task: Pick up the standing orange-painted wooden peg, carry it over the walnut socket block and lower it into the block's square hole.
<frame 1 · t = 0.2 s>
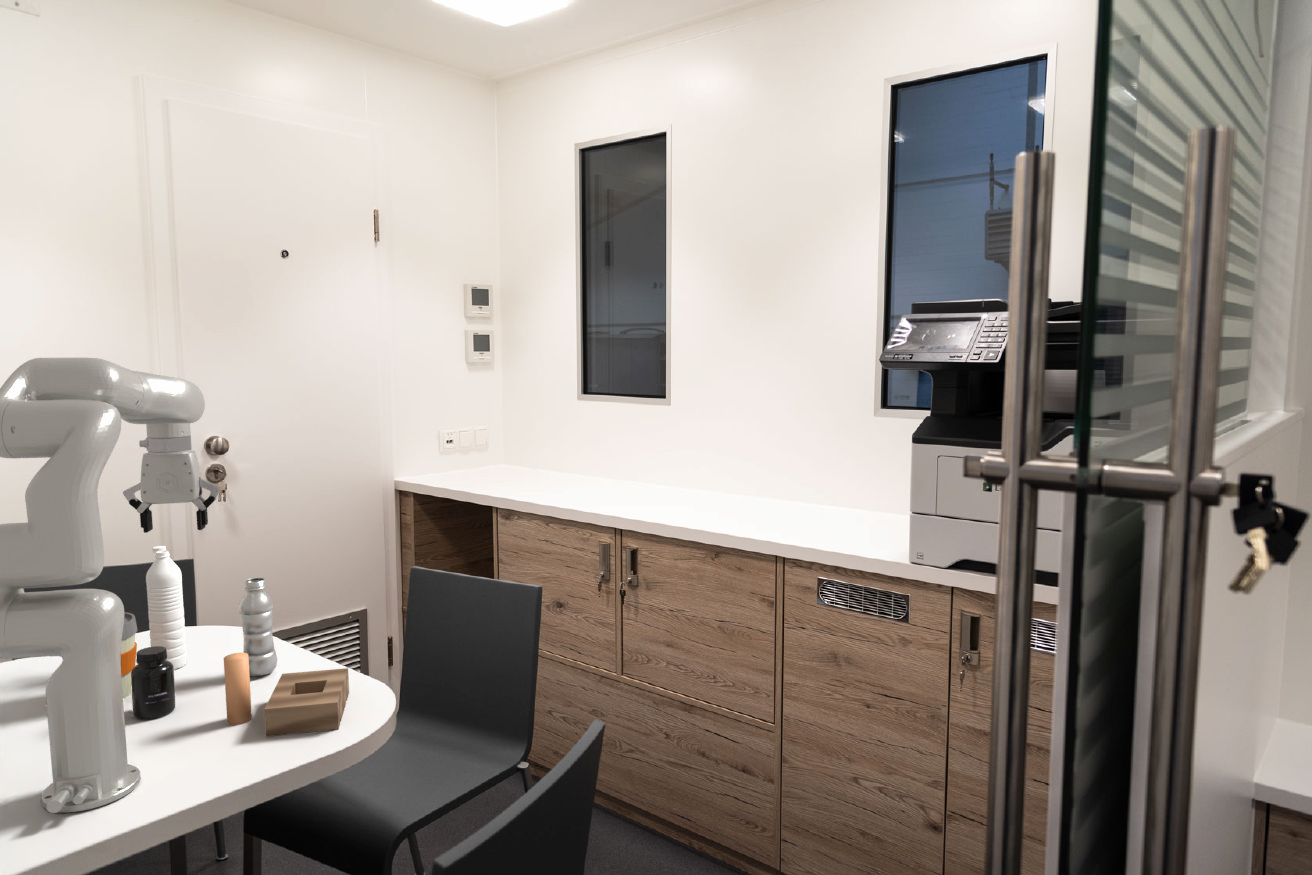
hand: (175, 529, 167), 31 cm above the table, tool pointing down, fingers open, 9 cm apart
supplement bottle: (155, 713, 155), on the table
plastic bottle: (260, 674, 173), on the table
water bottle: (169, 665, 178), on the table
socket block: (309, 713, 155), on the table
peg: (239, 719, 152), on the table
reusable coffee cup: (103, 697, 162), on the table
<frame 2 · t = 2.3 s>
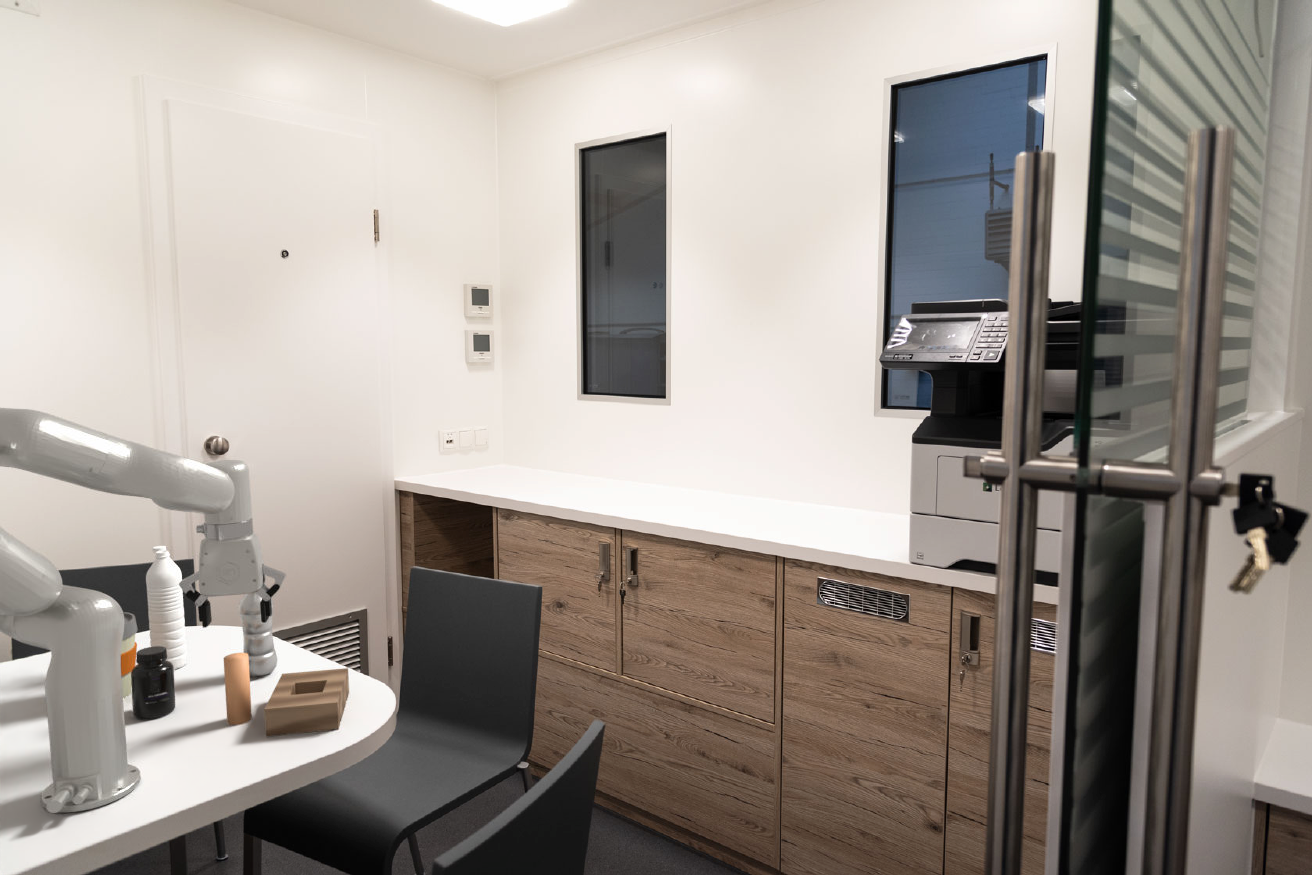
hand: (236, 622, 150), 18 cm above the table, tool pointing down, fingers open, 9 cm apart
nothing on the table moved.
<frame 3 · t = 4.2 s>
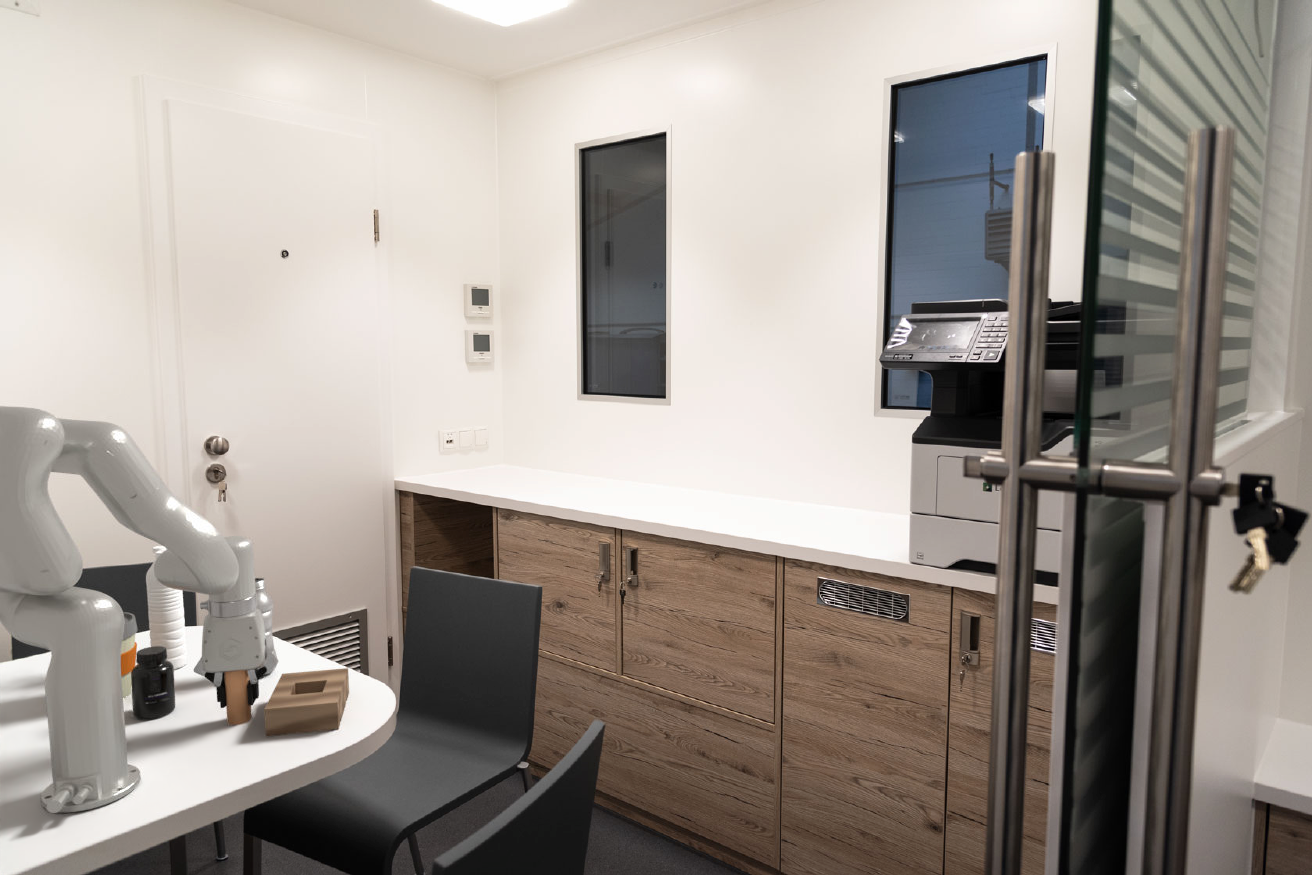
hand: (238, 702, 151), 3 cm above the table, tool pointing down, fingers closed on peg, 4 cm apart
peg: (239, 719, 152), on the table, touching gripper
everything else where it was.
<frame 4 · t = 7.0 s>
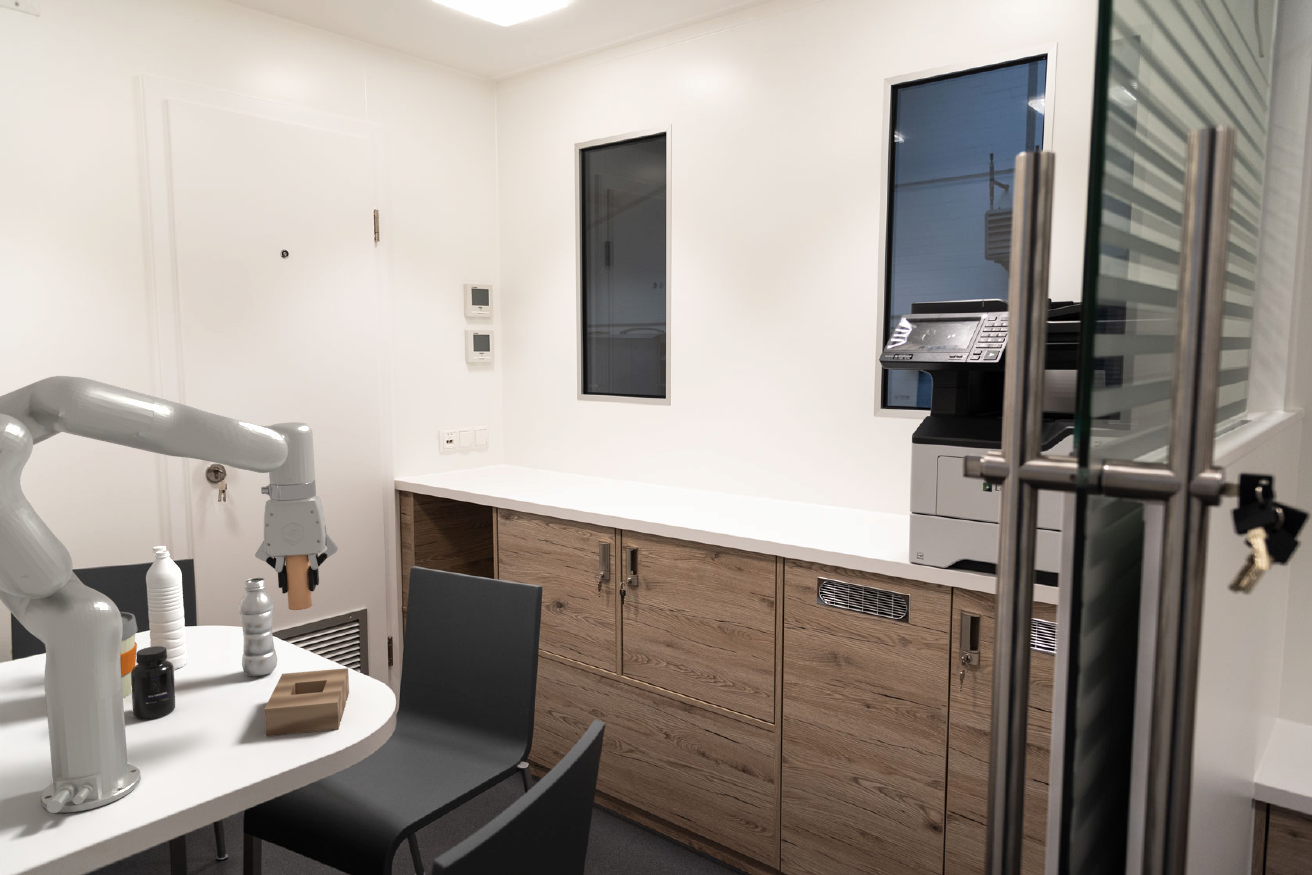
hand: (299, 589, 152), 24 cm above the table, tool pointing down, fingers closed on peg, 4 cm apart
peg: (300, 606, 152), point 20 cm above the table, touching gripper
everything else where it was.
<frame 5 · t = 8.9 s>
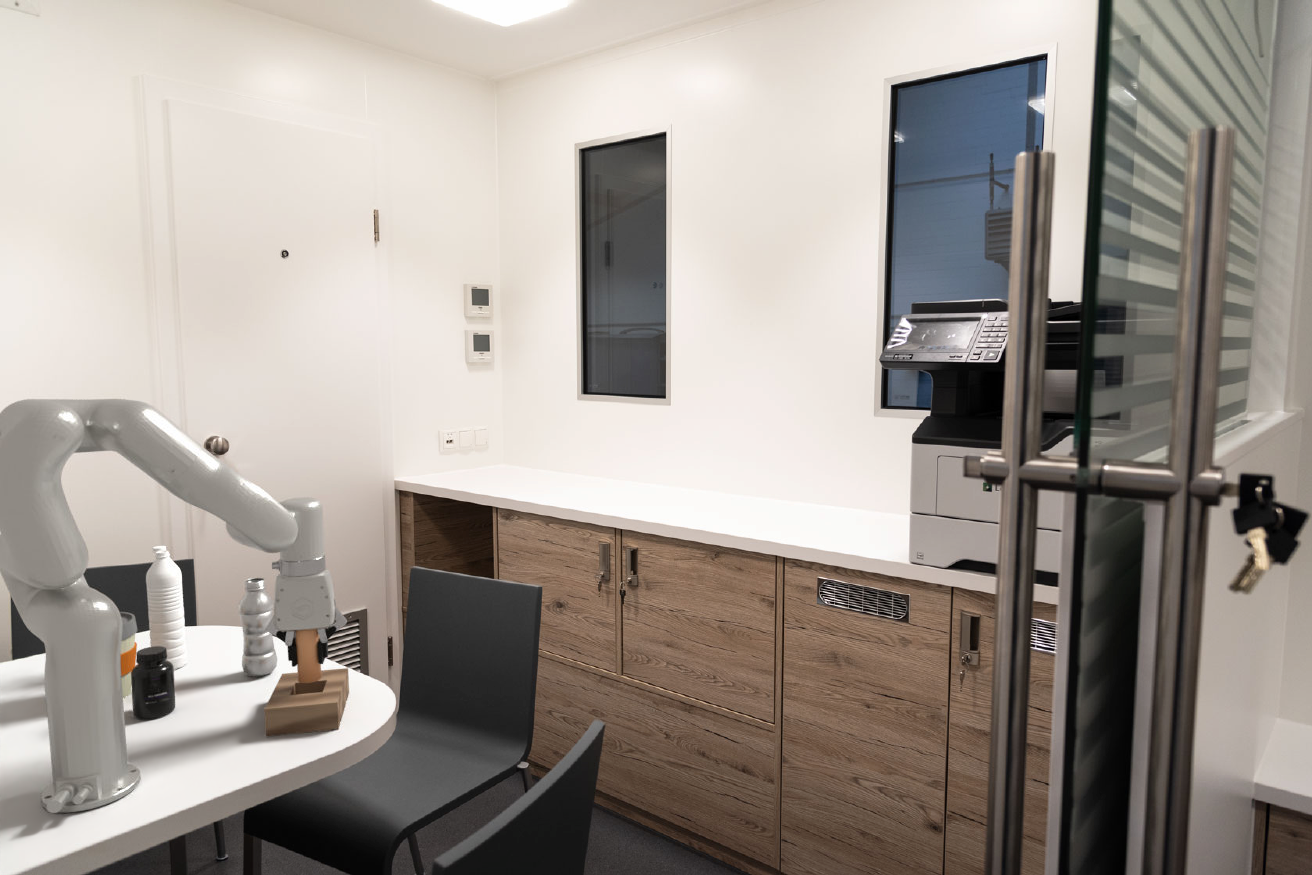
hand: (308, 661, 154), 10 cm above the table, tool pointing down, fingers closed on peg, 4 cm apart
peg: (309, 678, 154), point 7 cm above the table, touching gripper
everything else where it was.
when the fingers open (6 cm above the table, at t = 10.0 s): peg drops 3 cm, resting in socket block.
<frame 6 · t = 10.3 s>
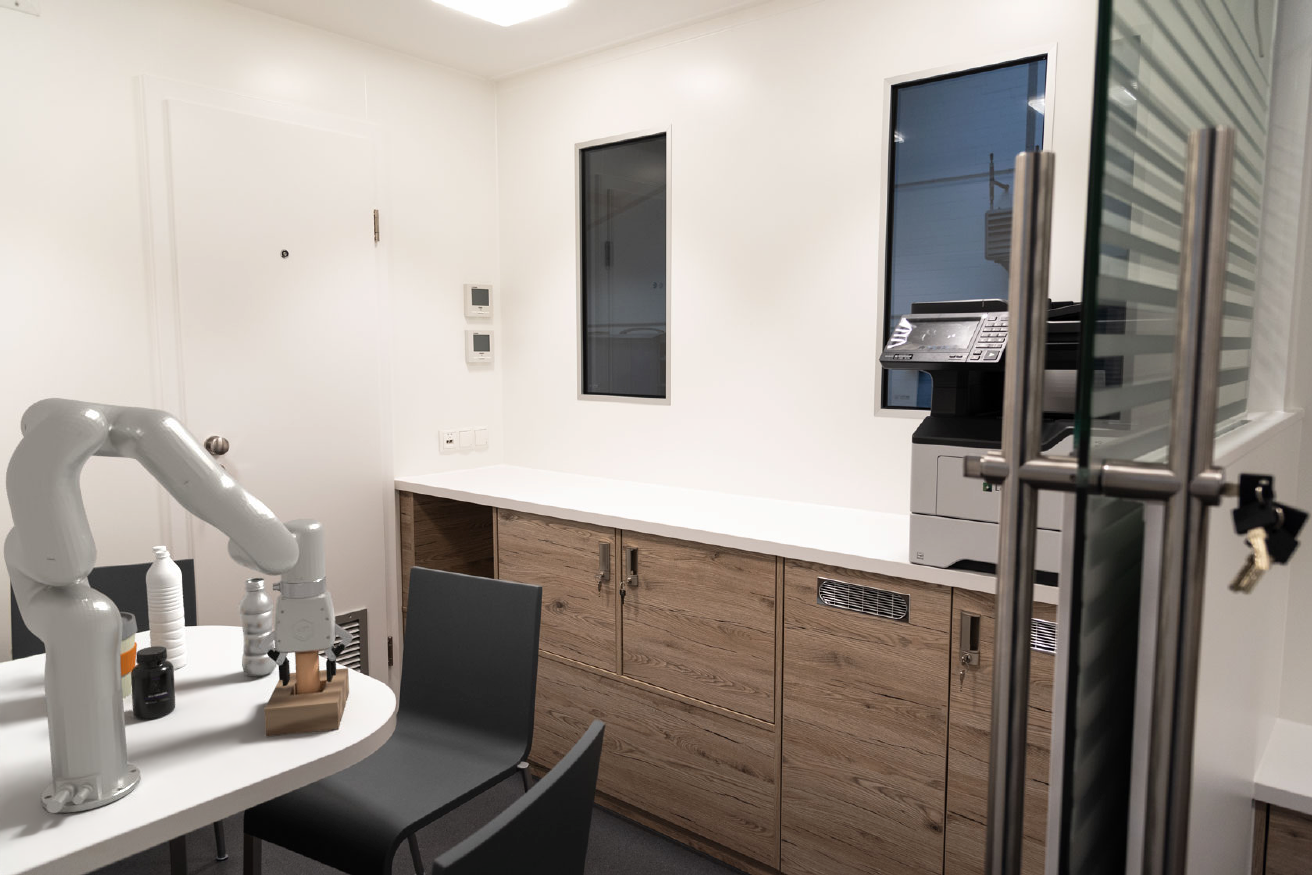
hand: (308, 680, 154), 6 cm above the table, tool pointing down, fingers open, 7 cm apart
peg: (309, 713, 155), resting in socket block
everything else where it was.
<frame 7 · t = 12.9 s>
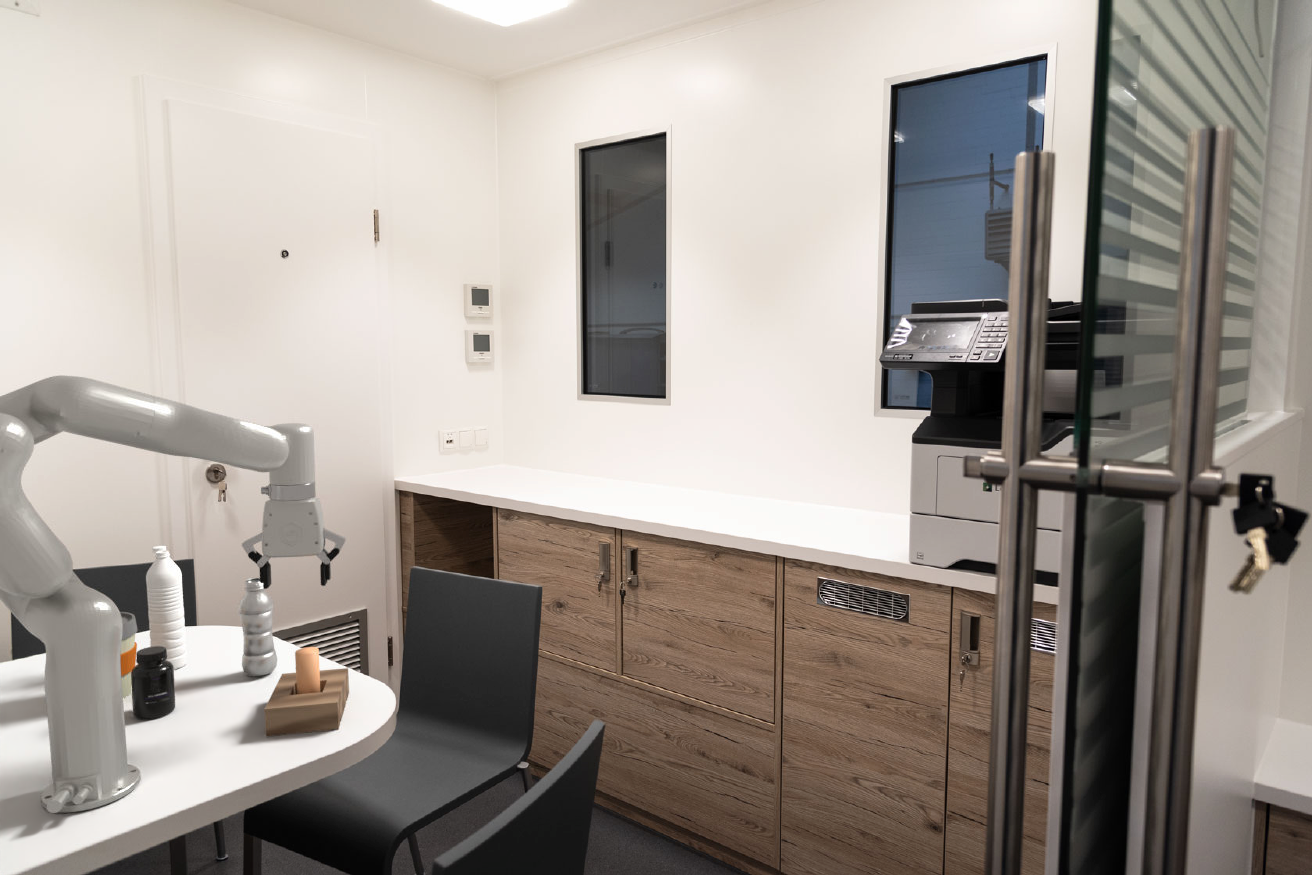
hand: (296, 585, 151), 25 cm above the table, tool pointing down, fingers open, 9 cm apart
nothing on the table moved.
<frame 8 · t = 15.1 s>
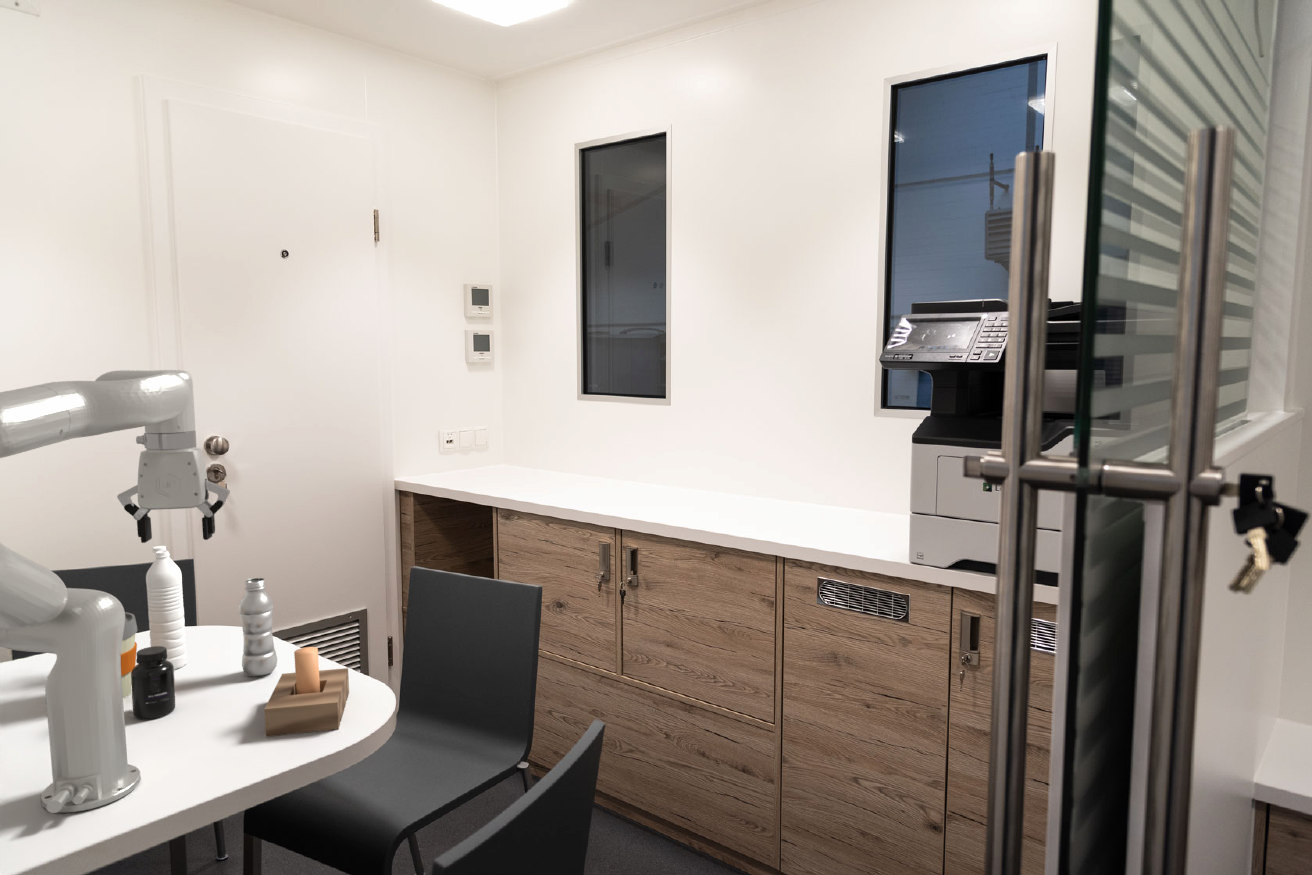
hand: (177, 539, 145), 34 cm above the table, tool pointing down, fingers open, 9 cm apart
nothing on the table moved.
at the end: peg 0.1 cm off-centre on the socket block, point 0.0 cm above the socket block's base; peg tilted 1°; the gripper is holding nothing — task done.
